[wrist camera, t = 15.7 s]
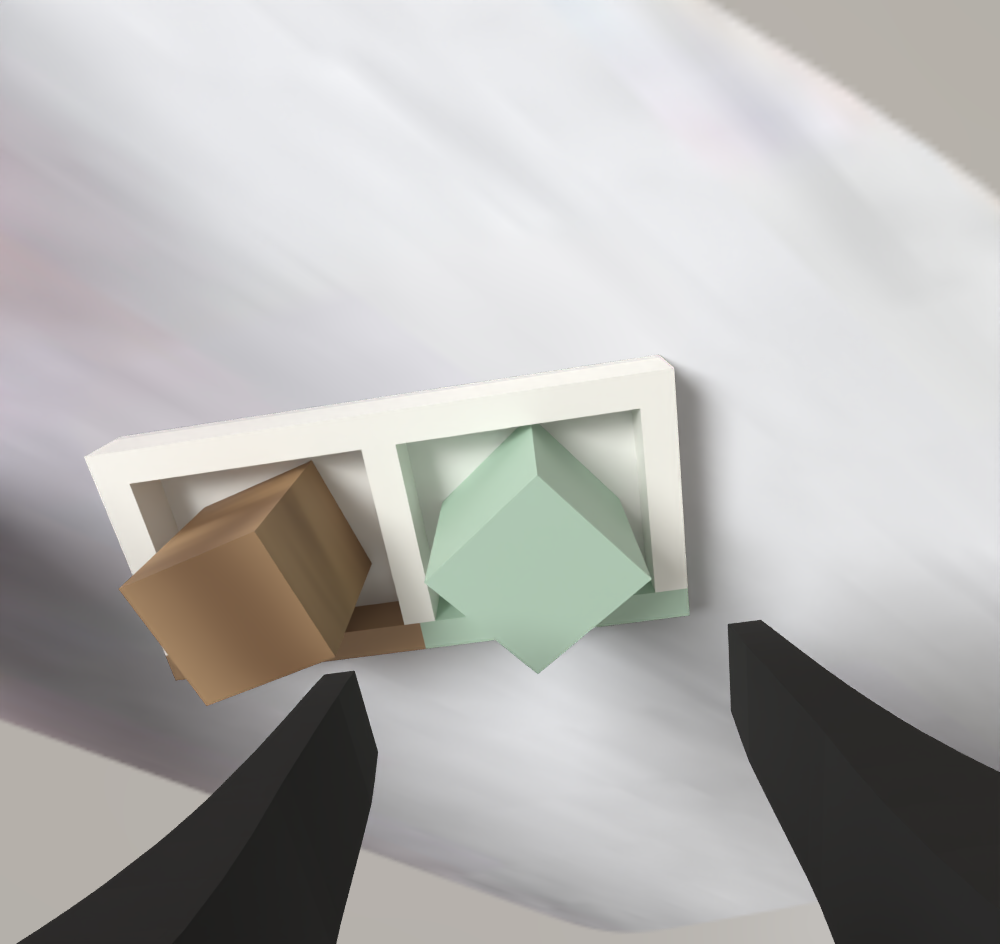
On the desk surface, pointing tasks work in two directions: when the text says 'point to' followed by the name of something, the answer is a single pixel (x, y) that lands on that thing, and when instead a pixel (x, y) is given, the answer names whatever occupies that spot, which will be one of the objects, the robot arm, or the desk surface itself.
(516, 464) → the sage block
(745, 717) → the robot arm
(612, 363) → the slot board
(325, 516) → the walnut block
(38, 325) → the desk surface
